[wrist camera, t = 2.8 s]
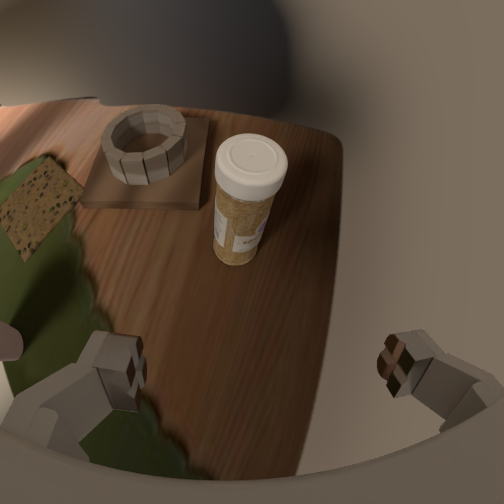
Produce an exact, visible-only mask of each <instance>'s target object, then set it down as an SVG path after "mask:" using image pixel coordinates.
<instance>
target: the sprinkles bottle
mask: <svg viewBox="0 0 504 504" xmlns="http://www.w3.org/2000/svg"><path fill="white" fill-rule="evenodd" d="M287 167H288V161H287V157H286V154H285V152H284V151H283V149H282V148H281V147H280V146H279V145H278V144H277V143H276V142H274V141H273V140H271V139H269V138H267V137H265V136H261V135H257V134H239V135H236V136H233V137H230V138H229V139H227V140H226V141H224V142H223V143H222V144H221V146H220V147H219V149H218V151H217V154H216V162H215V177H216V181H217V191H216V192H217V193H216V198H215V221H214V234H215V239H214V243H213V247H214V251H215V253H216V255H217V256H218V258H219V259H220V260H222V261H223V262H224V263H226V264H228V265H234V266H236V265H243V264H246V263H247V262H249V261H250V260H251V259H252V258H253V257H254V256H255V254H256V252H257V247H258V246H257V245H258V243H259V241H260V239H261V236H262V233H263V230H264V227H265V225H266V222H267V219H268V216H269V213H270V208H271V205H272V203H273V200H274V196H275V194H276V192H277V191H278V190H279V189H280V187H281V185H282V183H283V180H284V177H285V174H286V171H287Z"/></svg>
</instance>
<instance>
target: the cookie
mask: <svg viewBox="0 0 504 504" xmlns="http://www.w3.org/2000/svg"><path fill="white" fill-rule="evenodd" d="M83 190H84V188H83V187H82V186H81V185H80V184H79V183H78V182H77V181H76V180H75V179H74V178H72V177H71V176H70V175H69V174H68V173H66V172H65V170H64V169H62V167H61V166H59V165H58V164H57V163H56V162H55V161H54V160H53V159H52V158H51V157H48V158H47V159H45V160H43V161H42V162H41V164H40V165H38V166H37V168H36V169H34V170H33V171H32V172H31V174H30V175H29V176H28V177H27V178H26V179H25V180H24V181H23V182H22V183H21V185H19V186H18V187H17V189H16V190H15V191H14V192H12V194H11V195H10V196H8V197H7V198H6V199H5V202H4V203H3V204H2V206H1V207H0V222H1V224H2V226H3V227H4V229H5V231H6V233H7V235H8V236H9V238H10V240H11V241H12V242H13V244H14V245H15V248H16V249H17V250H18V253H19V254H20V255H21V257H22V259H23V260H24V261H25V262H26V261H27V260H28V259H29V258H30V257H31V256H32V255H33V253H34V251H35V250H36V249H37V248H38V247H39V245H40V244H41V243H42V242H43V241H44V240H45V238H46V237H47V236H48V235H49V234H50V232H51V231H52V230H53V229H54V228H55V226H56V225H57V224H58V223H59V222H60V221H61V220H62V219H63V218H64V216H65V215H66V214H67V213H68V212H69V211H70V210H71V209H72V208H73V207H74V206H75V205H76V204H77V203H78V202H79V201H80V199H81V196H82V193H83Z"/></svg>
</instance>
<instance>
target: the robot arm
mask: <svg viewBox="0 0 504 504" xmlns="http://www.w3.org/2000/svg"><path fill="white" fill-rule="evenodd" d="M384 344H385V349H384V350H383V351H382V352H381V353H380V354H379V357H378V359H377V369H378V373H379V374H380V376H381V377H382V378H383V379H385V380H387V385H386V386H387V388H388V389H389V391H390V393H391V394H392V396H393V397H394V398H398V397H402V396H406V395H410V394H412V396H413V397H415V398H416V399H417V400H419V401H420V402H422V403H423V404H424V405H426V406H427V407H429V408H430V409H431V410H433V411H434V412H435V413H437V414H438V415H439V416H441V417H442V418H444V419H445V420H446V421H445V422H444V423H443V424H442V425H441V427H440V429H439V431H440V434H437V435H436V436H433V437H431V438H429V439H426V440H424V441H422V442H419V443H417V444H414V445H412V446H409V447H407V448H404V449H401V450H399V451H396V452H393V453H390V454H387V455H384V456H381V457H378V458H375V459H371V460H368V461H364V462H361V463H357V464H353V465H349V466H345V467H341V468H337V469H332V470H327V471H322V472H317V473H311V474H306V475H298V476H291V477H283V478H273V479H262V480H243V481H205V480H187V479H175V478H166V477H158V476H151V475H144V474H138V473H133V472H127V471H122V470H118V469H113V468H109V467H105V466H101V465H97V464H93V463H90V462H89V457H88V455H87V454H86V453H85V451H84V450H83V449H82V448H81V446H80V445H79V444H78V443H79V442H80V441H81V440H82V439H83V438H84V437H85V436H86V435H87V434H88V433H89V432H90V431H91V430H92V429H93V428H95V427H96V426H97V425H98V424H99V423H100V422H101V421H102V420H103V419H104V418H105V417H106V416H107V415H108V414H109V413H110V412H111V411H112V410H113V409H118V410H125V411H133V412H139V409H140V404H141V400H142V393H141V388H142V387H143V386H145V382H146V377H147V363H146V357H145V356H144V355H143V354H142V350H143V342H142V338H141V337H140V336H134V335H127V334H120V333H113V332H105V331H98V330H96V331H94V332H93V333H92V335H91V337H90V338H89V340H88V342H87V344H86V346H85V347H84V349H83V351H82V353H81V355H80V357H79V359H78V361H77V363H76V364H74V363H71V364H69V365H68V366H66V367H64V368H63V369H61V370H59V371H57V372H56V373H54V374H52V375H50V376H49V377H47V378H45V379H44V380H42V381H40V382H38V383H37V384H35V385H33V386H32V387H30V388H28V389H26V390H25V391H23V392H21V393H19V394H18V395H16V397H15V399H14V401H13V403H12V405H11V406H10V408H9V410H8V412H7V414H6V416H5V418H4V420H3V422H2V424H1V426H0V504H504V387H503V386H502V385H501V384H500V383H499V382H498V380H496V378H495V377H494V376H493V375H492V374H491V373H488V372H486V371H484V370H482V369H480V368H478V367H476V366H473V365H472V364H469V363H467V362H465V361H463V360H461V359H459V358H457V357H454V356H452V355H450V354H445V353H444V352H443V350H442V349H441V348H440V347H439V346H438V345H437V344H436V343H435V341H433V339H432V338H431V337H430V336H429V335H428V334H427V333H426V332H425V331H424V330H421V329H420V330H415V331H411V332H403V333H396V334H390V335H389V336H388V337H387V338H386V340H385V343H384Z"/></svg>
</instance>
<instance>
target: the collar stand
mask: <svg viewBox="0 0 504 504" xmlns="http://www.w3.org/2000/svg"><path fill="white" fill-rule="evenodd" d="M209 121H210V118H198V117H183V116H182V115H181V113H180V112H179V111H177V109H174V108H172V107H169V106H166V105H164V104H163V105H161V104H148V105H143V106H141V105H140V106H137V107H135V108H132V109H129V110H127V111H124V113H121V114H120V115H118V116H117V117H116V118H115V119H113V120H112V121H111V122H110V123H109V124H108V125H107V126H106V128H105V130H104V133H103V135H102V137H101V146H100V149H99V151H98V153H97V156H96V158H95V161H94V163H93V166H92V168H91V171H90V173H89V176H88V179H87V182H86V184H85V187H84V190H83V193H82V196H81V199H80V203H81V204H82V206H83V207H84V208H129V209H172V210H198V211H199V205H200V196H201V187H202V178H203V169H204V161H205V154H206V146H207V139H208V132H209Z"/></svg>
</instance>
